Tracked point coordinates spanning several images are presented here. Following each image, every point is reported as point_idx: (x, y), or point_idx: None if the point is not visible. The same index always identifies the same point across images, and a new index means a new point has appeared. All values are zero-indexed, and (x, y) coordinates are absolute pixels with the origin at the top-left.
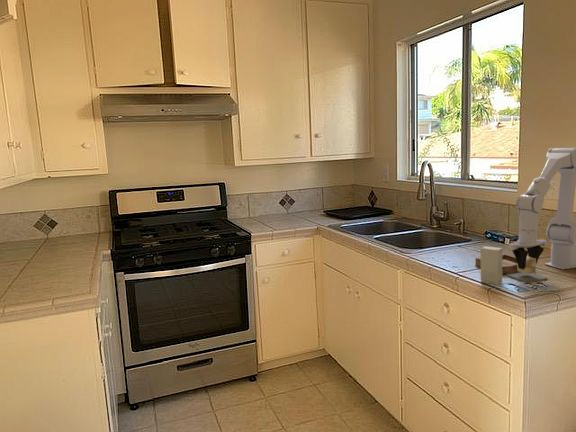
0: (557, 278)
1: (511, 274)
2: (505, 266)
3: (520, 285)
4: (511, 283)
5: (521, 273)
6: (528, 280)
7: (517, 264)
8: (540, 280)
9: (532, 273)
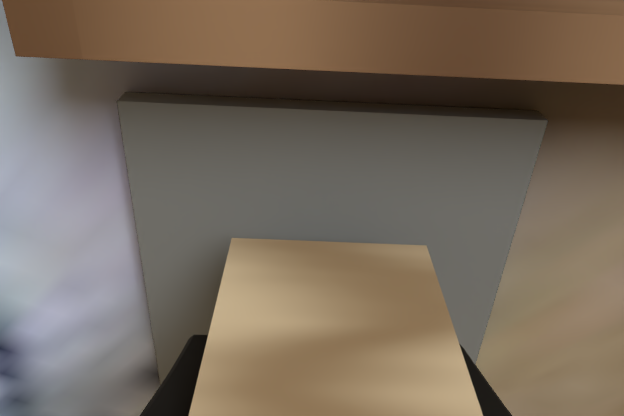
0: (587, 394)
1: (191, 142)
2: (111, 60)
3: (65, 396)
4: (8, 329)
5: (369, 170)
6: None
7: (211, 325)
8: None
9: (502, 232)
